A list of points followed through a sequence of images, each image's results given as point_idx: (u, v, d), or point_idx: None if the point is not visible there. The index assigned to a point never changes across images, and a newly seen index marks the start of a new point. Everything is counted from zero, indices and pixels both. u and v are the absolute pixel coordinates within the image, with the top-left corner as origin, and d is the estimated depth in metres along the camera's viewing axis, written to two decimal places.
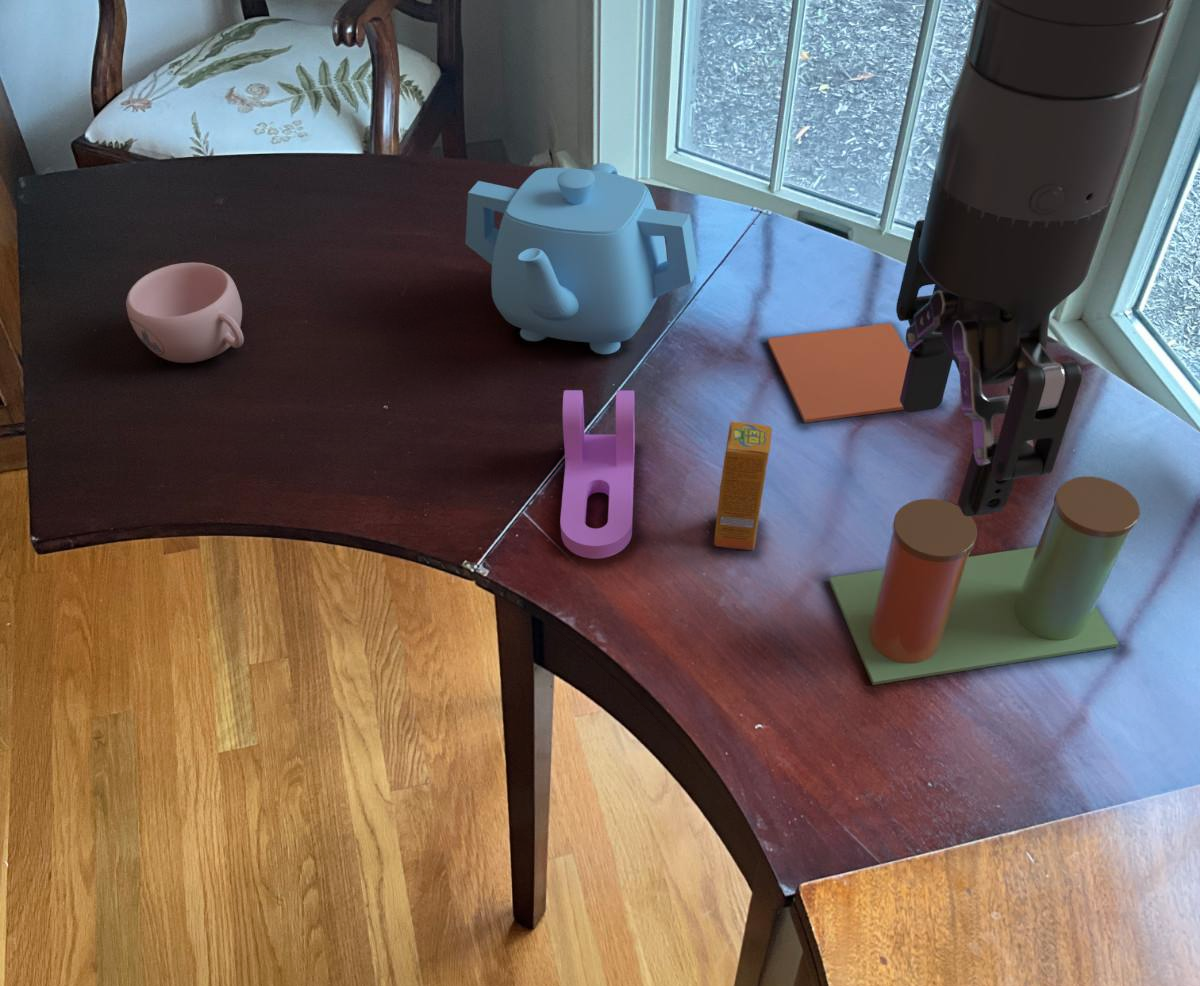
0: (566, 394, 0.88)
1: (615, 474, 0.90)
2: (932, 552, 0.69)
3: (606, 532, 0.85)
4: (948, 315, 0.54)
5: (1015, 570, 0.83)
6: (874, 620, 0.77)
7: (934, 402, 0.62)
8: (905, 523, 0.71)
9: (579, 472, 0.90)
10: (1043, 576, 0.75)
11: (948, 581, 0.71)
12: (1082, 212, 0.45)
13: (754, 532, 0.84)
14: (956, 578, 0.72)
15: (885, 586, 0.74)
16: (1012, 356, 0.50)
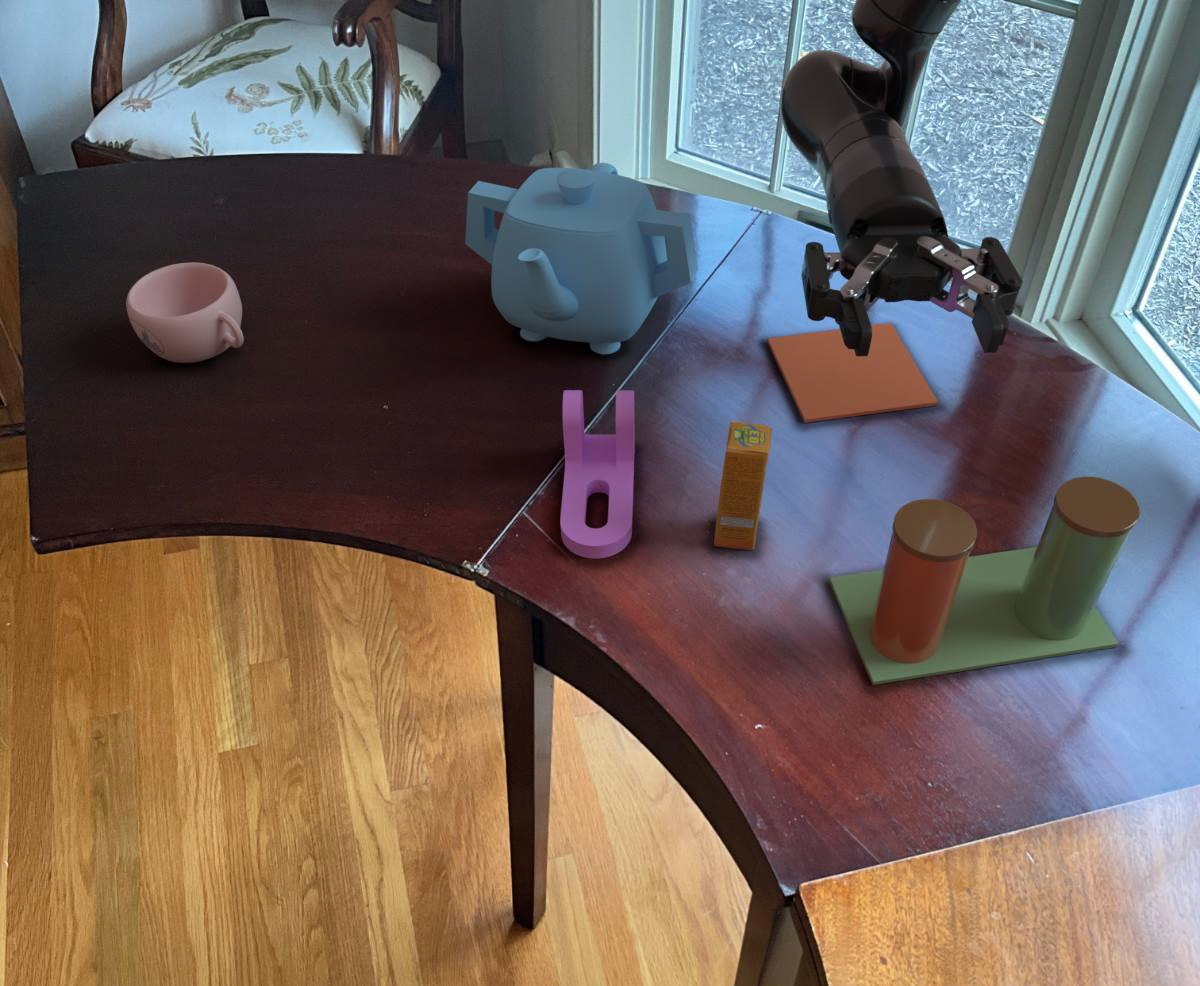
0: (566, 394, 0.88)
1: (615, 474, 0.90)
2: (932, 552, 0.69)
3: (606, 532, 0.85)
4: None
5: (1015, 570, 0.83)
6: (874, 620, 0.77)
7: (990, 329, 0.72)
8: (905, 523, 0.71)
9: (579, 472, 0.90)
10: (1043, 576, 0.75)
11: (948, 581, 0.71)
12: (835, 202, 0.82)
13: (754, 532, 0.84)
14: (956, 578, 0.72)
15: (885, 586, 0.74)
16: (839, 270, 0.79)
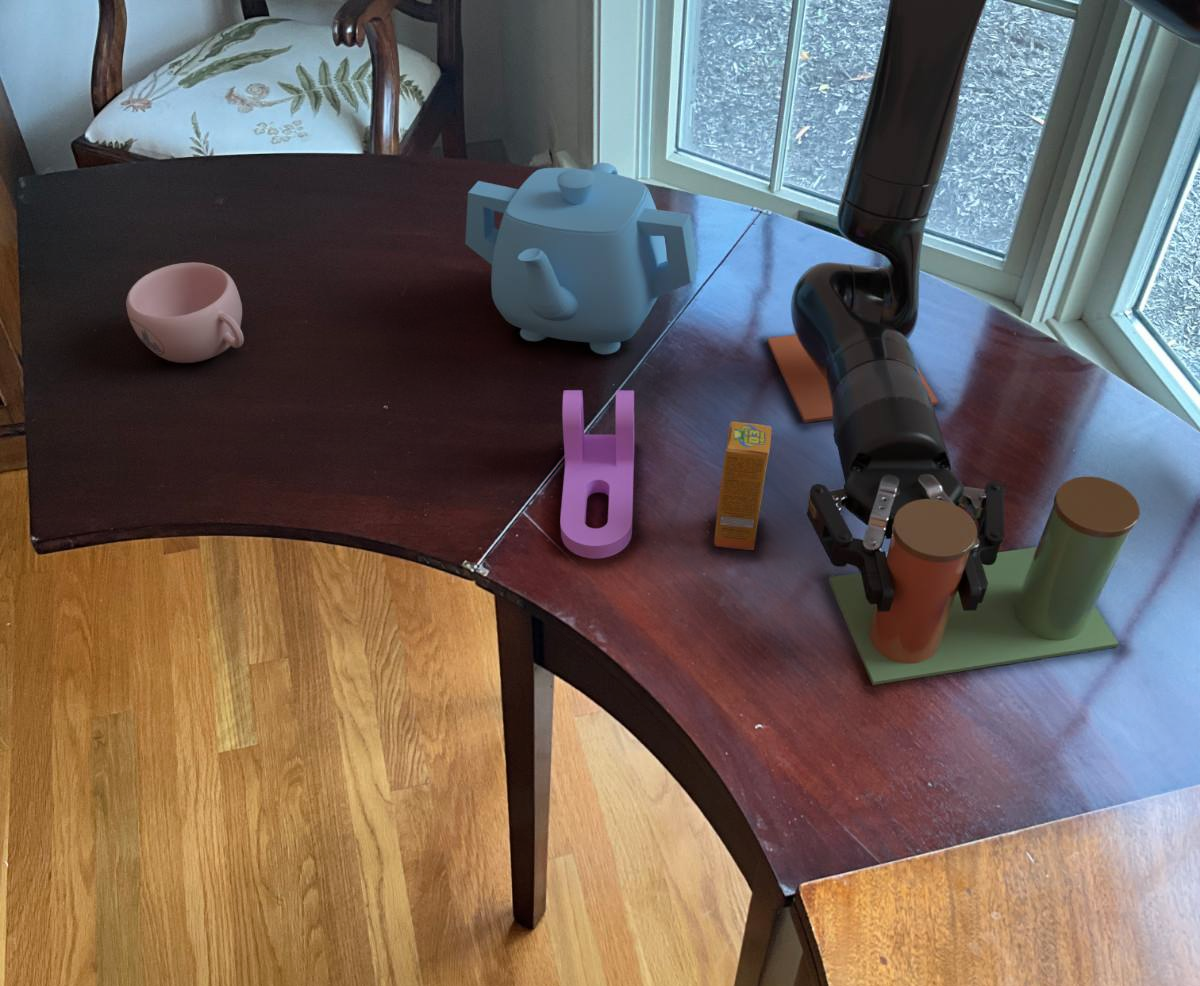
0: (566, 394, 0.88)
1: (615, 474, 0.90)
2: (932, 552, 0.69)
3: (606, 532, 0.85)
4: None
5: (1015, 570, 0.83)
6: (874, 620, 0.77)
7: (968, 590, 0.72)
8: (905, 523, 0.71)
9: (579, 472, 0.90)
10: (1043, 576, 0.75)
11: (948, 581, 0.71)
12: (839, 427, 0.83)
13: (754, 532, 0.84)
14: (955, 578, 0.72)
15: None
16: None
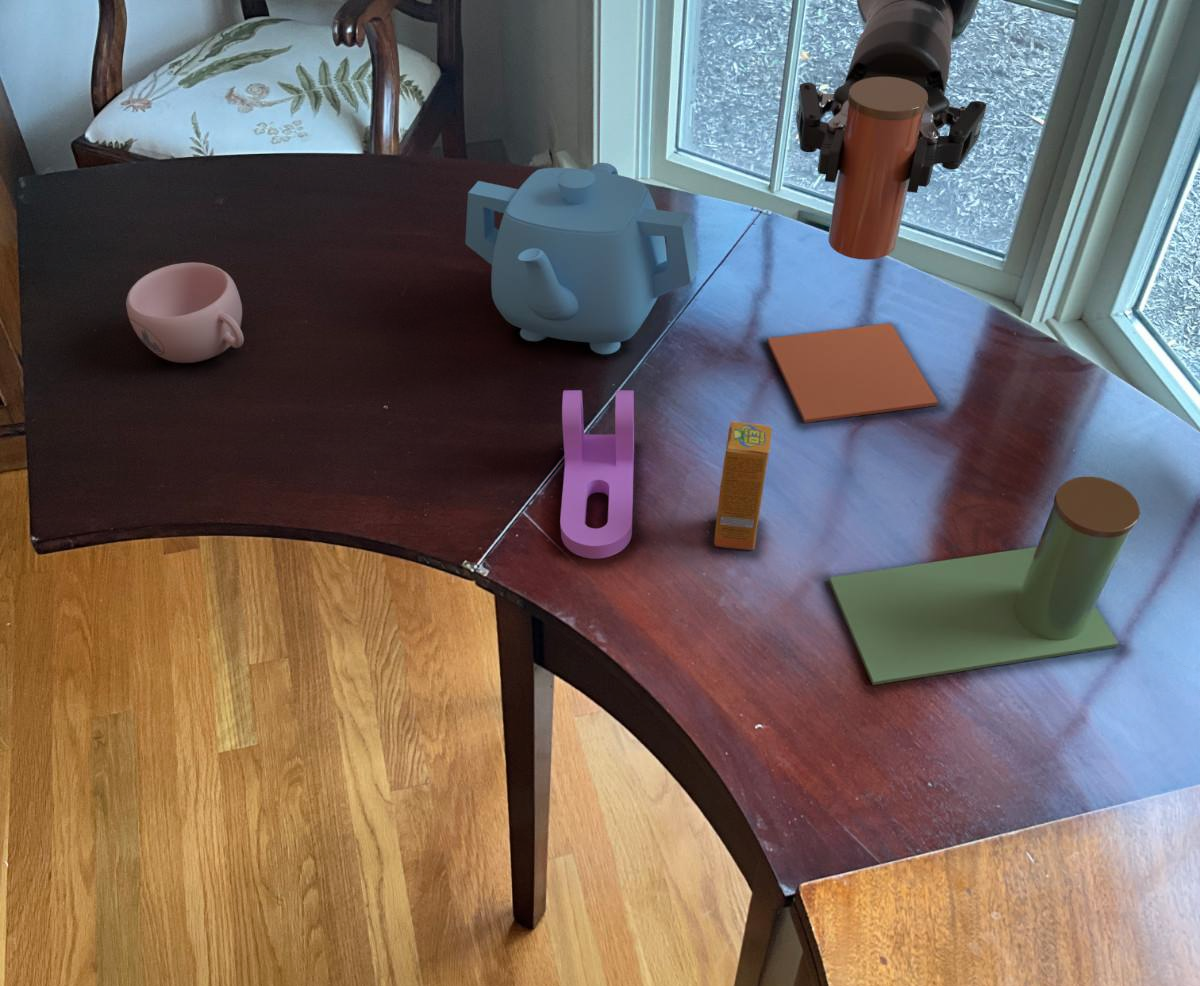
0: (565, 394, 0.88)
1: (615, 474, 0.90)
2: (874, 107, 0.73)
3: (606, 532, 0.85)
4: None
5: (1015, 570, 0.83)
6: (832, 213, 0.81)
7: (912, 166, 0.75)
8: (861, 88, 0.75)
9: (579, 472, 0.90)
10: (1043, 576, 0.75)
11: (891, 150, 0.75)
12: None
13: (754, 532, 0.84)
14: (900, 149, 0.75)
15: (839, 165, 0.78)
16: None
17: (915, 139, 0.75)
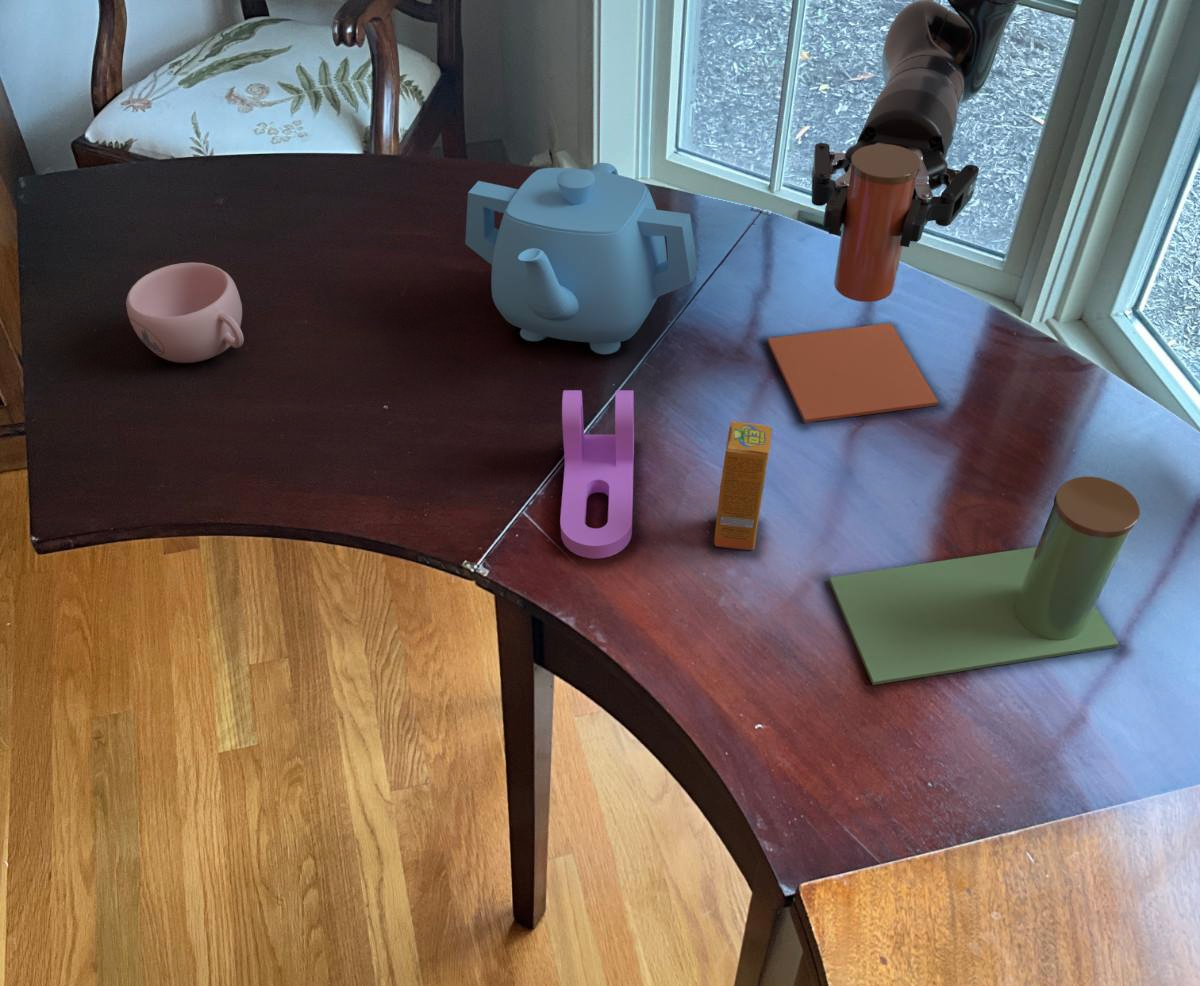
0: (565, 394, 0.88)
1: (615, 474, 0.90)
2: (871, 173, 0.84)
3: (606, 532, 0.85)
4: None
5: (1015, 570, 0.83)
6: (837, 259, 0.92)
7: None
8: (862, 154, 0.86)
9: (579, 472, 0.90)
10: (1043, 576, 0.75)
11: (886, 210, 0.85)
12: None
13: (754, 532, 0.84)
14: (894, 209, 0.85)
15: (843, 219, 0.89)
16: None
17: (908, 200, 0.86)
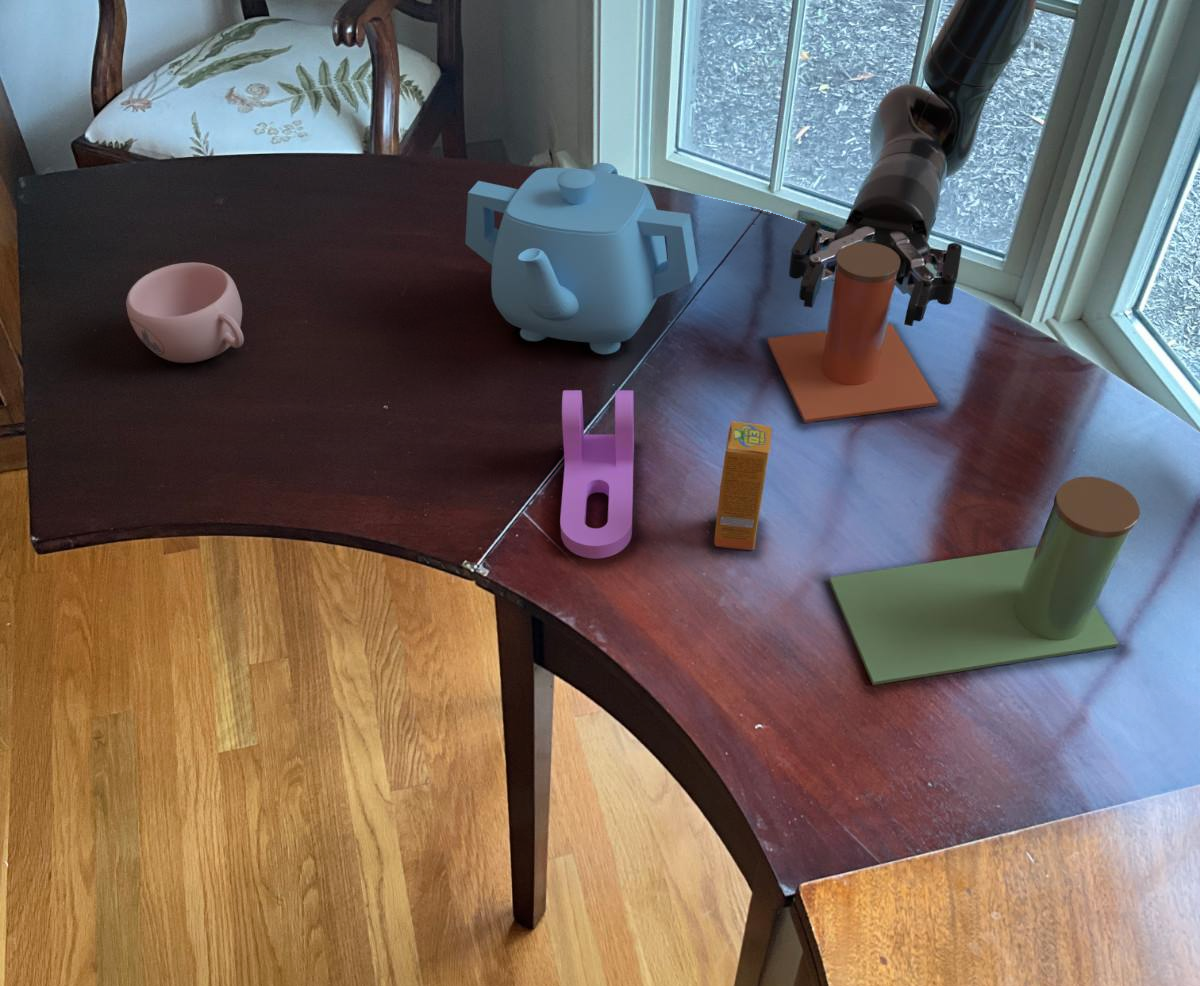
0: (565, 394, 0.88)
1: (614, 474, 0.90)
2: (854, 272, 0.90)
3: (606, 532, 0.85)
4: None
5: (1015, 570, 0.83)
6: (824, 345, 0.99)
7: (908, 305, 0.92)
8: (847, 253, 0.92)
9: (578, 472, 0.90)
10: (1043, 576, 0.75)
11: (869, 304, 0.92)
12: None
13: (754, 532, 0.84)
14: (876, 304, 0.92)
15: None
16: None
17: (889, 295, 0.92)
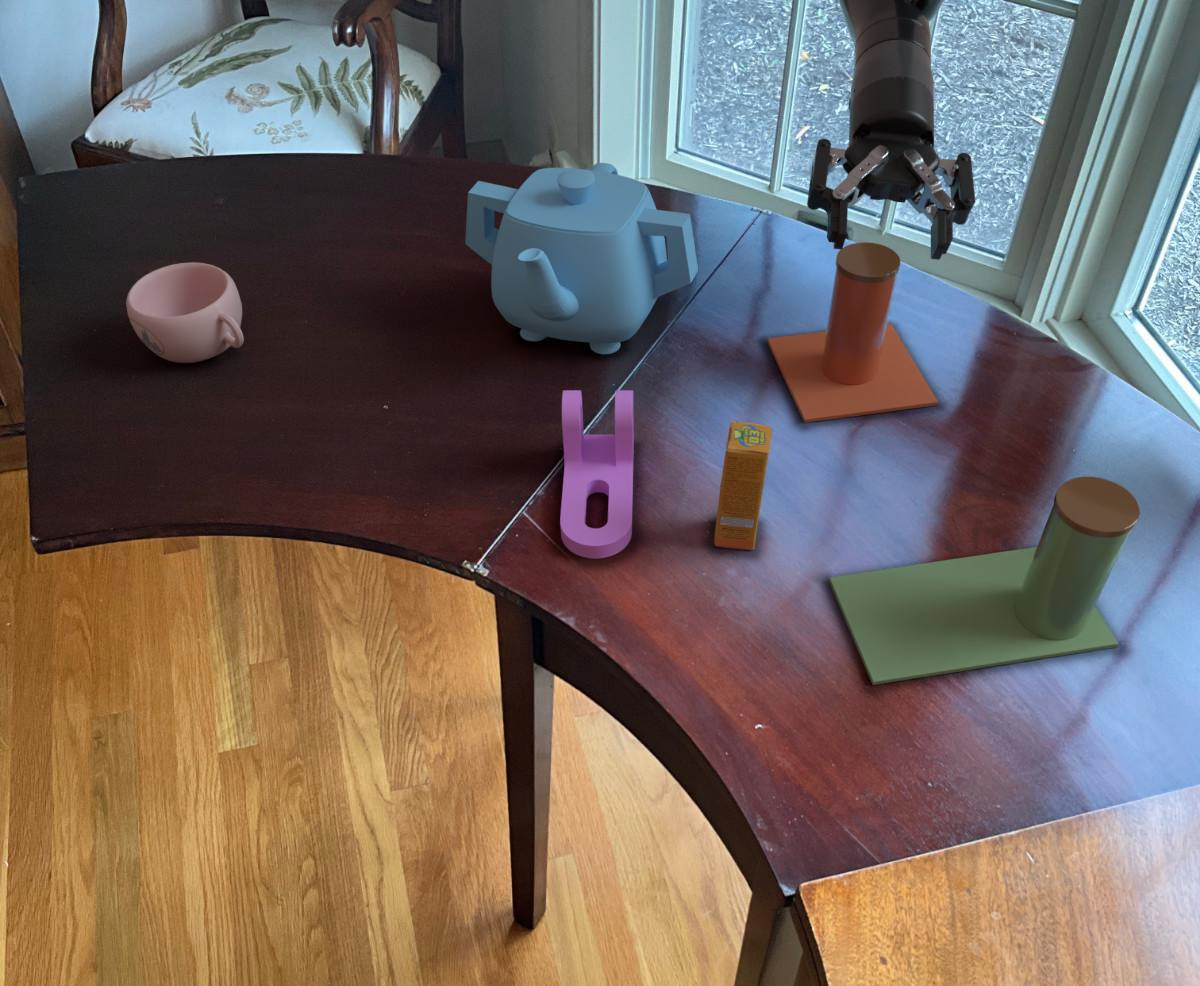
0: (565, 394, 0.88)
1: (614, 474, 0.90)
2: (854, 272, 0.90)
3: (606, 532, 0.85)
4: None
5: (1015, 570, 0.83)
6: (824, 345, 0.99)
7: (936, 243, 0.95)
8: (847, 253, 0.92)
9: (578, 472, 0.90)
10: (1043, 576, 0.75)
11: (869, 304, 0.92)
12: (853, 97, 1.01)
13: (754, 532, 0.84)
14: (876, 304, 0.92)
15: None
16: (842, 163, 1.00)
17: (889, 295, 0.92)
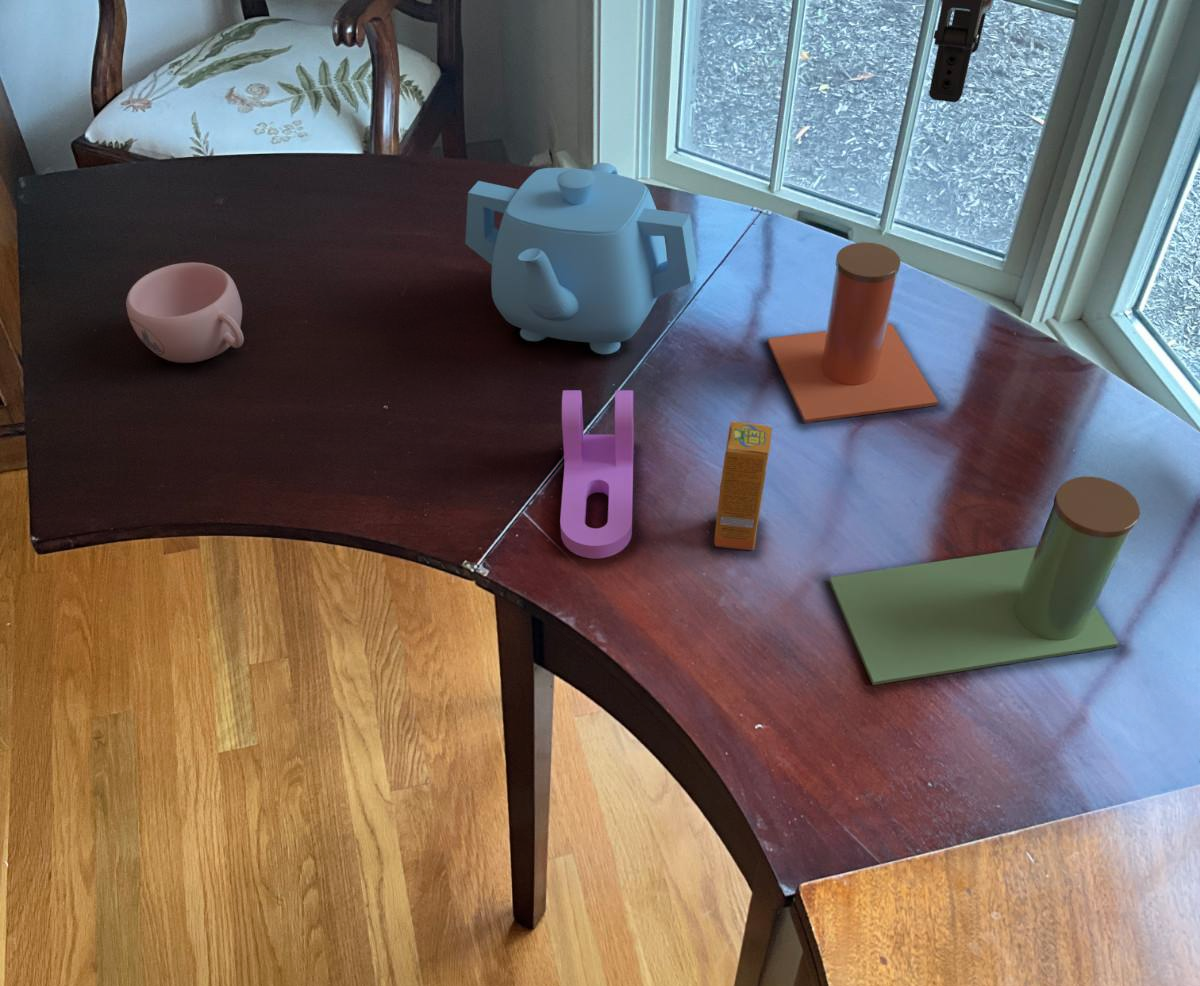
0: (565, 394, 0.88)
1: (614, 474, 0.90)
2: (854, 272, 0.90)
3: (606, 532, 0.85)
4: None
5: (1015, 570, 0.83)
6: (824, 345, 0.99)
7: (972, 46, 0.83)
8: (847, 253, 0.92)
9: (578, 472, 0.90)
10: (1043, 576, 0.75)
11: (869, 304, 0.92)
12: None
13: (754, 532, 0.84)
14: (876, 304, 0.92)
15: None
16: None
17: (889, 295, 0.92)
